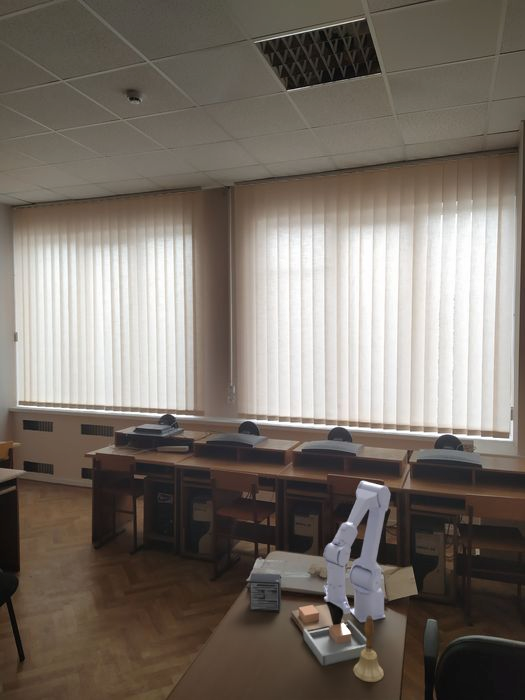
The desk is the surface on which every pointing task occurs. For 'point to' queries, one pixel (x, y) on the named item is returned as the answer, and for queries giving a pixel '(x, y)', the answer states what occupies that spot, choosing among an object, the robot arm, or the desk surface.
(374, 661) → the hand bell
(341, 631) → the tile near
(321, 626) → the plate
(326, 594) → the robot arm
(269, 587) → the small box
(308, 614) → the tile far
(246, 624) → the desk surface
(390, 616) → the desk surface
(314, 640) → the tray
